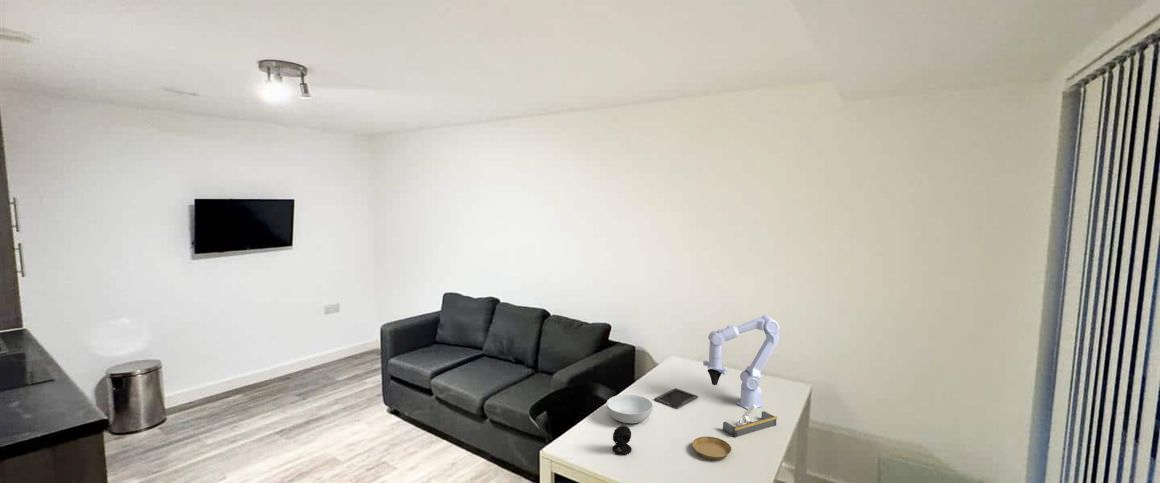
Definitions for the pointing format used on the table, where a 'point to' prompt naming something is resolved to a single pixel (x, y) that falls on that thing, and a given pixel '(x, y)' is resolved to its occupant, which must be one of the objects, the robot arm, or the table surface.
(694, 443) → the plant saucer
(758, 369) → the robot arm
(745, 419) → the hook
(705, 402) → the table surface
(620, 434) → the webcam
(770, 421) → the tray
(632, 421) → the serving bowl
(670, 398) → the picture frame
